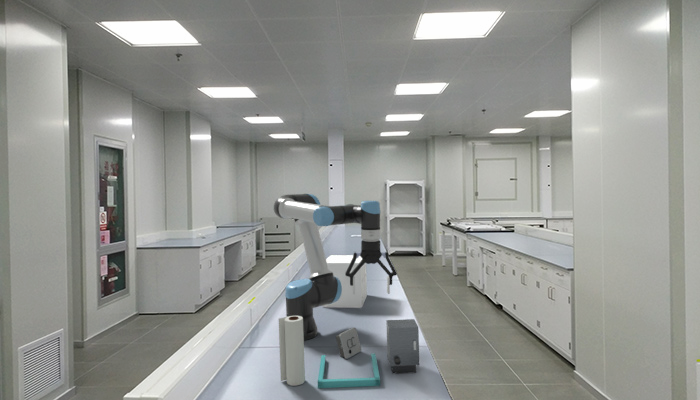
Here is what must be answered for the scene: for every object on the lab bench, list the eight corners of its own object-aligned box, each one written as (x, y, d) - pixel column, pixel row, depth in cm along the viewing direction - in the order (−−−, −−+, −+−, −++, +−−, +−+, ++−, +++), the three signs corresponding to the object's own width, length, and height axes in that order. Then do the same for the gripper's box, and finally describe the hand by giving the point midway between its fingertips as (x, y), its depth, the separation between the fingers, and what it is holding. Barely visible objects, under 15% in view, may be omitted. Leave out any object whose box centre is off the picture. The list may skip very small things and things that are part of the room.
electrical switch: (346, 360, 144) (344, 334, 144) (336, 358, 147) (333, 333, 147) (361, 351, 151) (359, 327, 151) (351, 349, 154) (349, 326, 155)
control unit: (390, 376, 130) (389, 329, 129) (387, 363, 140) (386, 319, 139) (420, 375, 130) (419, 328, 129) (415, 362, 140) (414, 318, 139)
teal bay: (317, 388, 124) (317, 381, 124) (321, 360, 144) (321, 355, 144) (380, 385, 124) (380, 379, 124) (375, 358, 144) (375, 353, 144)
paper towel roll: (308, 381, 129) (306, 317, 128) (294, 388, 124) (292, 322, 124) (294, 374, 134) (292, 313, 133) (280, 381, 129) (278, 317, 128)
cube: (361, 308, 207) (360, 263, 206) (322, 308, 210) (321, 263, 210) (367, 295, 232) (365, 255, 231) (332, 295, 235) (330, 255, 234)
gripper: (339, 241, 149) (339, 296, 150) (403, 241, 149) (404, 295, 150) (339, 238, 156) (339, 290, 157) (400, 238, 157) (401, 289, 158)
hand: (371, 293), depth 154 cm, fingers open, 13 cm apart
